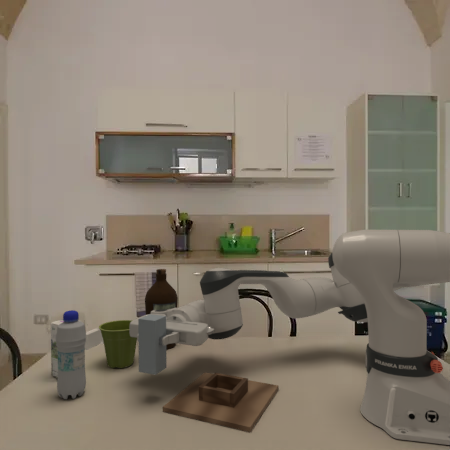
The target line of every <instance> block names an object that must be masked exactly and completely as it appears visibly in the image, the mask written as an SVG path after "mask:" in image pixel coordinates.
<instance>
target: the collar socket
mask: <svg viewBox="0 0 450 450" xmlns="http://www.w3.org/2000/svg"><path fill="white" fill-rule="evenodd" d="M277 392H279V385H277V384H272V383H268V382H267V383H266V382H261V381H255V380H249V378H246V377H242V376H236V375H231V374H230V375H229V374H227V373H226V374H225V373H220V372H214V373H209V372H207V371H205V372H203V373H202V374H201V375H200V376H198V377H197V378H196V379H195V380H194V381H192V382H191V383H190V384H189V385H187V386H186V387H185V388H184V389H183V390H181V391H180V392H178V394H176V395H175V396H174V397H173V398H172V399H170V400H169V401H167V402H166V403H165V404H164V405H163V406H162V412H164V413H168V414H172V415H175V416H179V417H184V418H188V419H189V418H190V419H194V420H198V421H201V422H205V423H209V424H212V425H218V426H222V427H225V428H226V427H227V428H230V429H234V430H239V431H243V432H246V433H247V432H248V433H251V432H252V431H253V429H254V427H255V426H256V425H257V423H258V421H259V420H260V418H261V417H262V415H263V414H264V412H265V411H266V409H267V408H268V406H269V405H270V403H271V402H272V401H273V399H274V397H275V396H276V394H278V393H277Z"/></svg>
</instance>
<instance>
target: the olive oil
mask: <svg viewBox="0 0 450 450" xmlns="http://www.w3.org/2000/svg"><path fill="white" fill-rule="evenodd" d="M144 297H145V298H144V306H145V308H144V309H145V315H148V314H151V311H153V310H163V309H172V308H178V303H179V302H178V301H179V298H178V295H177V291H176V290H175V288H174V287H173V286H172V285H171V284H170V283H169V282H168V281H167V269H165V268H159V269H158V268H157V269H156V274H155V282H154V283H153V284H152V286H150V288H149V289H148V290H147V291H146V294H145V296H144ZM176 345H177V343H171V344H167V345H166V350H171V349H173V348H174V347H176Z"/></svg>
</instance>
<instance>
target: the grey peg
mask: <svg viewBox="0 0 450 450" xmlns="http://www.w3.org/2000/svg"><path fill="white" fill-rule="evenodd" d="M143 316H144V315H143ZM138 318H139V317H138ZM163 335H165V336H166V316H161V315H152V314H149V315H147V316H144V317H142V318H139V319H138V337H139V342H138V372H139V373H143V374H148V375H158V374H159V373H160V372H162V371H164V370H165V369H167V366H168V365H167V349H166V345H159V337H161V336H163Z"/></svg>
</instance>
